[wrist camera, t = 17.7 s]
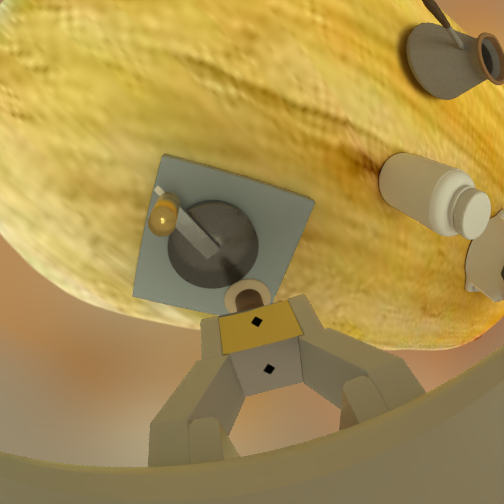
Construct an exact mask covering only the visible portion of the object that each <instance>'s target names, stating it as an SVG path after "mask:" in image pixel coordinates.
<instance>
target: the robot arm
mask: <svg viewBox="0 0 504 504" xmlns="http://www.w3.org/2000/svg"><path fill="white" fill-rule="evenodd" d="M465 270H466V277H467V279H466V284H465V290H467V291H468V292H478V291H481V292H482V293H483V294H485V295H486V296H487V297H488V298H490V299H491V300H492V301H494V302H496V301H501V300H504V209H502V210H501V211H500V212H499V213H498V214H497V215H496V216H495V217H493V218H491V219H489V221H488V224H487V226H486V228H485V230H484V231H483V233H482V234H481V235H480V236H479V237H477V238H476V239H473V241H472V243H471V245H470V248H469V251H468V254H467V258H466V266H465ZM200 326H201V349H202V350H201V352H202V360H200V361H196V363H195V364H194V366H193V367H192V368H191V370H190V371H189V372H188V374H187V375H186V376H185V378H184V379H183V381H182V382H181V383H180V385H179V386H178V387H177V389H176V390H175V391H174V393H173V394H172V395H171V397H170V398H169V399H168V401H167V402H166V403H165V405H164V406H163V407H162V409H161V410H160V411H159V413H158V414H157V415H156V417H155V418H154V419H153V420H152V422H151V423H150V437H149V457H148V467H98V466H84V465H73V464H64V463H56V462H50V461H42V460H37V459H32V458H27V457H21V456H17V455H13V454H8V453H4V452H0V504H504V344H503V345H502V346H501V347H499V348H498V349H497V350H495V351H494V352H492V353H491V354H489V355H488V356H487V357H485V358H484V359H482V360H481V361H479V362H478V363H476V364H475V365H473V366H472V367H470V368H469V369H467V370H466V371H464V372H462V373H461V374H459V375H457V376H456V377H454V378H452V379H451V380H449V381H447V382H445V383H444V384H442V385H440V386H439V387H436V388H435V389H433V390H431V391H429V392H427V393H426V392H425V390H424V389H423V387H422V386H421V385H420V383H419V382H418V380H417V379H416V377H415V376H414V374H413V373H412V372H411V370H410V369H409V367H408V366H407V364H406V363H405V362H404V360H403V359H402V358H400V357H398V356H395V355H393V354H390V353H388V352H385V351H383V350H381V349H378V348H376V347H374V346H371V345H369V344H366V343H364V342H362V341H359V340H357V339H355V338H352V337H350V336H348V335H345V334H343V333H341V332H339V331H336V330H334V329H332V328H326V329H324V327H323V326H322V324H321V322H320V320H319V318H318V317H317V315H316V313H315V311H314V309H313V308H312V306H311V304H310V302H309V301H308V299H307V297H306V295H304V294H302V295H299V296H296V297H292V298H289V299H287V300H284V301H280V302H277V303H273V304H269V305H265V306H261V307H257V308H252V309H248V310H243V311H239V312H234V313H230V314H225V315H220V316H216V317H212V318H207V319H202V320H201V323H200ZM301 382H304V384H306V385H307V386H309V387H310V388H311V389H313V390H314V391H316V392H317V393H318V394H320V395H321V396H323V397H324V398H325V399H327V400H328V401H330V402H331V403H333V404H334V405H335V406H337V407H338V408H340V409H341V416H340V426H339V431H337V432H335V433H332V434H329V435H326V436H322V437H319V438H316V439H313V440H310V441H306V442H303V443H299V444H296V445H292V446H288V447H284V448H281V449H276V450H272V451H268V452H263V453H259V454H254V455H249V456H244V457H240V455H239V454H238V452H237V451H236V449H235V447H234V446H233V444H232V442H231V441H230V439H229V437H228V436H229V433H230V431H231V429H232V427H233V425H234V423H235V420H236V418H237V416H238V414H239V411H240V409H241V407H242V404H243V402H244V400H245V397H246V396H250V395H254V394H258V393H262V392H265V391H269V390H273V389H276V388H281V387H285V386H289V385H293V384H297V383H301Z"/></svg>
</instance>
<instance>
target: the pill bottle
mask: <svg viewBox="0 0 504 504" xmlns="http://www.w3.org/2000/svg"><path fill="white" fill-rule="evenodd" d="M379 188H380V192H381V195H382V197H383V198H384V200H385V201H386V202H387V203H388V204H389V205H391V206H392V207H394V208H396V209H397V210H399V211H401V212H403V213H404V214H406V215H408V216H409V217H411V218H413V219H415V220H416V221H418V222H420V223H421V224H423V225H425V226H426V227H428V228H429V229H431V230H433V231H434V232H436V233H438V234H440V235H442V236H455V235H457V234H460V235H461V236H463V237H465V238H466V239H468V240H472V239H476V238H477V237H479V236H480V235H481V234H482V233H483V231H484V230H485V228H486V226H487V224H488V221H489V218H490V213H491V204H490V200H489V197H488V196H487V194H486V193H484V192H482V191H480V190H478V189H476V188H475V185H474V182H473V181H472V179H471V178H470V176H469V175H468V174H467V173H465V172H464V171H462V170H460V169H458V168H455V167H452V166H449V165H446V164H443V163H439V162H436V161H433V160H430V159H426V158H423V157H420V156H416V155H413V154H409V153H398V154H395V155H393V156H392V157H390V158H389V159H388V160H387V161H386V162H385V164H384V165H383V167H382V170H381V172H380V177H379Z"/></svg>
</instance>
